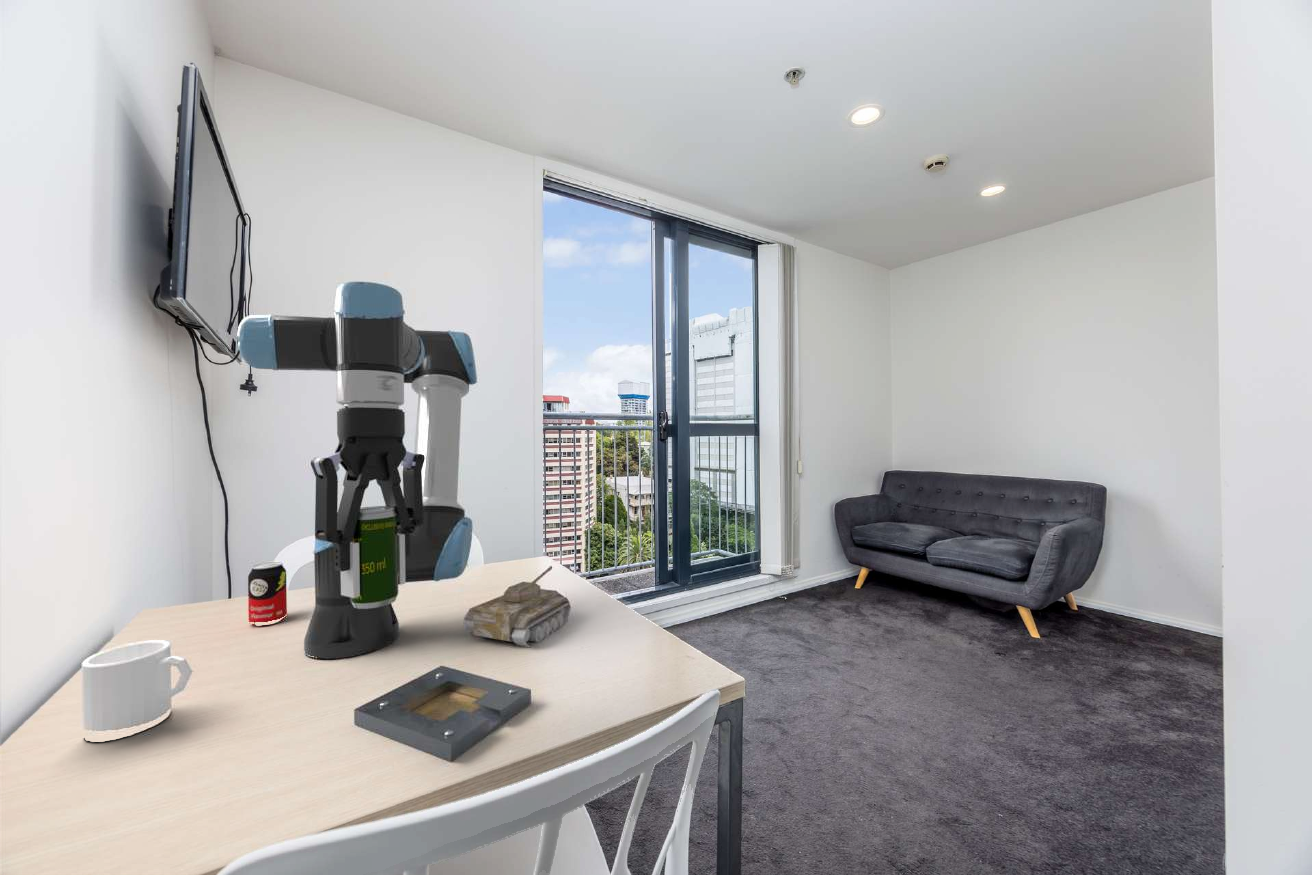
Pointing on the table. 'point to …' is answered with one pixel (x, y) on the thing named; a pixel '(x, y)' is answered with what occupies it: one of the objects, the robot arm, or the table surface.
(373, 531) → the beer can
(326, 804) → the table surface
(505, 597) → the toy tank
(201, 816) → the table surface
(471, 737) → the chassis plate
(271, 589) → the beverage can
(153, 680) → the mug
